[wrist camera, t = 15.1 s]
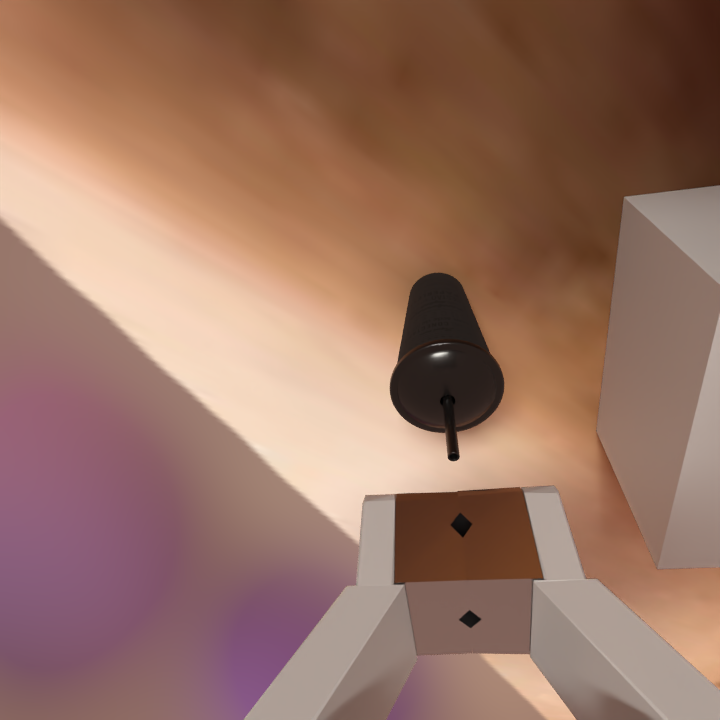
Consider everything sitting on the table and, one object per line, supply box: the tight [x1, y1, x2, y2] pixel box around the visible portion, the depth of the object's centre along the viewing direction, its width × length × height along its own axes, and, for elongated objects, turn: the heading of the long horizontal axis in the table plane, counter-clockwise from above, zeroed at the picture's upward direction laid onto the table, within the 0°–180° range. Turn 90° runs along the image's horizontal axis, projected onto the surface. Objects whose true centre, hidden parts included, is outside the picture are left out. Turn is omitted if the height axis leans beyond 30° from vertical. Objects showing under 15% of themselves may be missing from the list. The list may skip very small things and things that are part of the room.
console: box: [596, 185, 720, 569], centre depth 41 cm, size 11×24×16 cm, turn 9°
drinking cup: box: [390, 273, 504, 461], centre depth 40 cm, size 8×8×20 cm
